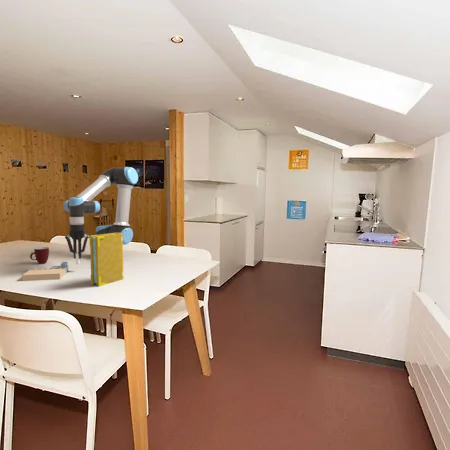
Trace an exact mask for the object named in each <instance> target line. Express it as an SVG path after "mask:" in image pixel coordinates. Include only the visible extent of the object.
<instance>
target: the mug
mask: <svg viewBox="0 0 450 450" xmlns="http://www.w3.org/2000/svg"><path fill="white" fill-rule="evenodd" d="M33 249H34V250H33V252H32V253H30V255H29V258H30V260H32V261H36V262H37V263H38V264H39V265H44V264H46V263H47V262H48V260H49V254H50V248H49V247H47V246H41V247H40V246H39V247H34V248H33ZM33 255H34V256H35V258H33Z"/></svg>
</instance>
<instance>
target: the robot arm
mask: <svg viewBox="0 0 450 450" xmlns="http://www.w3.org/2000/svg"><path fill="white" fill-rule="evenodd" d="M138 181H139V175H138V172H137V170H136V169H135V168H133V167H129V166H124V167H121V166H119V167H111V168H109V169H107V170H105V171H104V172H102V173H101V174H100V175H99V176H98V178H97V179H96V180H95V181H94V182H92V183H91V184H90V185H89V186H88V187H86V188H85V189H84V190H82V192H80V193H79V194H77V196H74V197H70V198H69V200H67V199H66V200H65V201H64V203H63V208H64V210H65V211H66V212H68V213H69V232H68V234H67V235H65V236H64V239H65V240H66V242H67V246H68V249H69V252H70V253H73V259H74V260H75V265H80V264H81V263H80V261H81V260H80V259H82V253H84V252H85V250H86V247H87V242H88V240H89V236H90V235H88V234H86V232H85V225H84V224H85V216H84V215H85V214H97V213H99V212H100V211H101V204H100V202H99V201H97V200H93V199H94V198H95V197H97V195H99V194H100V193H101V192H103V191H104V190H105V189H106V188H109V187H111V186H113V185H116V187H117V188H118V189H117V200H116V201H117V202H116V211H115V221H114V223H112V224H106V225H99V226H96V228H95V235H101V234H109V233H123V246H124V245H125V246H126V245H129V244H130V242H131V241H132V239H133V237H134V232H133V229H132V228H131V225H130V224H129V219H130V218H129V217H130V209H131V208H130V207H131V196H132V190H133V189H134V187H135V185H136V184H138V183H137V182H138ZM83 238H84V240H83V244H82V239H83ZM71 239H72V240H71Z"/></svg>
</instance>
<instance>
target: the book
mask: <svg viewBox="0 0 450 450" xmlns="http://www.w3.org/2000/svg"><path fill="white" fill-rule="evenodd" d="M88 236H89V238H88V240H89V249H90V251H89V254H90V285H94V286H95V285H96V286H97V287H102V286H105V285H107V284H111V283H115V282H118V281H122V280H124V249H123V248H124V245H123V233H109V234H101V235H96V234H94V235H93V234H92V235H88Z"/></svg>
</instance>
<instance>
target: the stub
mask: <svg viewBox="0 0 450 450" xmlns="http://www.w3.org/2000/svg"><path fill="white" fill-rule="evenodd" d="M52 268H53V269H55V268H66V273H67V272H69V265H68V261H62V262H61V263H60V265H52V266H51V267H50V268H49V269H52Z"/></svg>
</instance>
